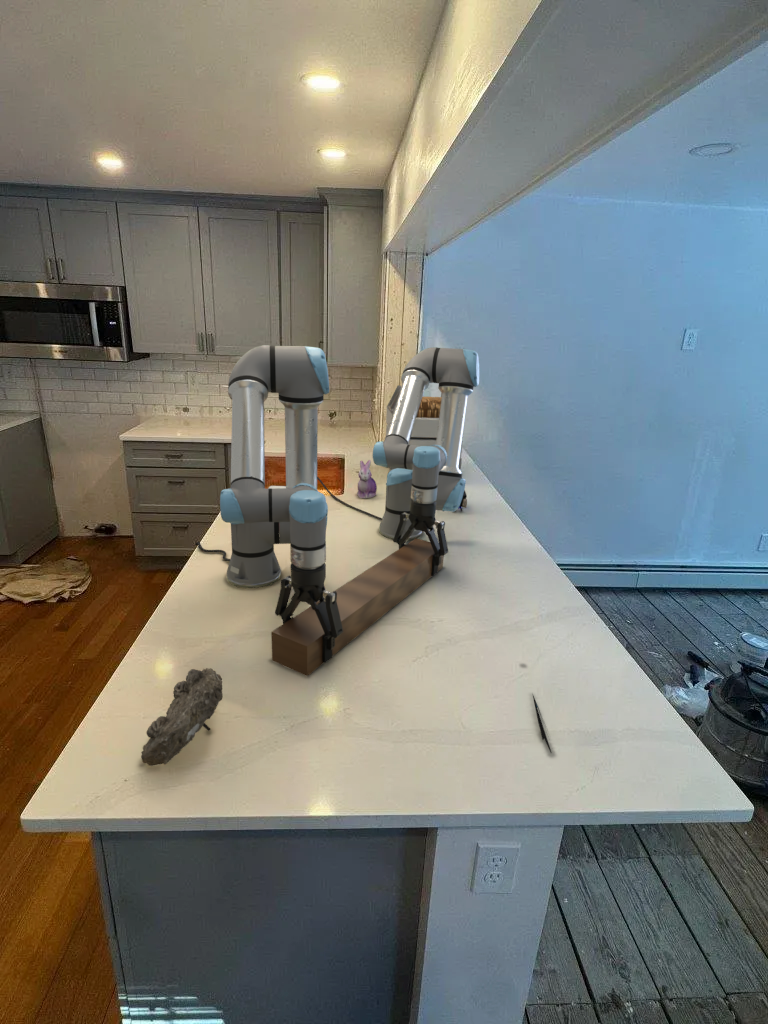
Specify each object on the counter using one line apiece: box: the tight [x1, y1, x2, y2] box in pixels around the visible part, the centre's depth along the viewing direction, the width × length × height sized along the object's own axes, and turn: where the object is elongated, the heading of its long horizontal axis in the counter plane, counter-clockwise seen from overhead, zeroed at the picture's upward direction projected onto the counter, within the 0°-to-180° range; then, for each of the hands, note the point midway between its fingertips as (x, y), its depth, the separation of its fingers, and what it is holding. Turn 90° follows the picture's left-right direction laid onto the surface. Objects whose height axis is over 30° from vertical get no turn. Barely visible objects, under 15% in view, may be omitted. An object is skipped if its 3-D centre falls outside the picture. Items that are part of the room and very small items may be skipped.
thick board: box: [270, 538, 445, 677], centre depth 149 cm, size 66×10×7 cm, turn 149°
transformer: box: [385, 384, 466, 472], centre depth 268 cm, size 34×33×41 cm
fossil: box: [140, 667, 224, 767], centre depth 103 cm, size 22×10×15 cm
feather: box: [522, 663, 555, 753], centre depth 115 cm, size 2×28×2 cm
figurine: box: [356, 459, 378, 499], centre depth 236 cm, size 9×10×15 cm
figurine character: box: [457, 490, 468, 512], centre depth 228 cm, size 7×8×15 cm
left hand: (308, 651), depth 129 cm, fingers closed on thick board, 10 cm apart
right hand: (418, 569), depth 172 cm, fingers closed on thick board, 10 cm apart
